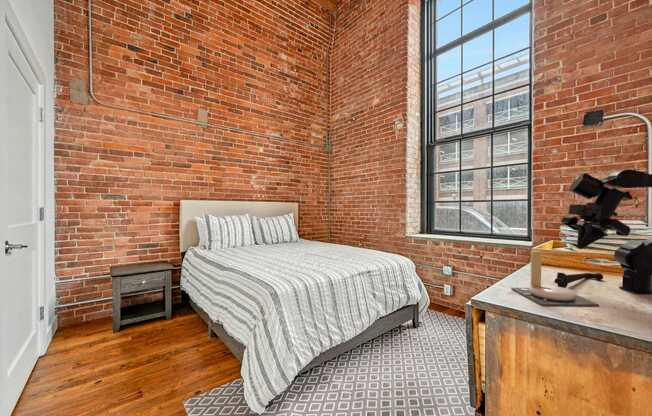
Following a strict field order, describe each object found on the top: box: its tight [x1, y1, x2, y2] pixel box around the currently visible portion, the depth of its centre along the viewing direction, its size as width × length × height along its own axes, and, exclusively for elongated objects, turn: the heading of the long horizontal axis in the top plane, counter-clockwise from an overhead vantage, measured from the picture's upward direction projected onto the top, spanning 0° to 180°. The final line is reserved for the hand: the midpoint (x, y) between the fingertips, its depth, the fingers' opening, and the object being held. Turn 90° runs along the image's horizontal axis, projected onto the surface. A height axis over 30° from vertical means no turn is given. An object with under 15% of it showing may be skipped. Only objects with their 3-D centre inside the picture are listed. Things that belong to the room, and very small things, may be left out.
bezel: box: [510, 287, 600, 307], centre depth 89 cm, size 15×15×1 cm
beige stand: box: [528, 250, 576, 301], centre depth 89 cm, size 11×11×12 cm
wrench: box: [553, 272, 604, 288], centre depth 100 cm, size 5×5×30 cm
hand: (579, 248), depth 95 cm, fingers closed
